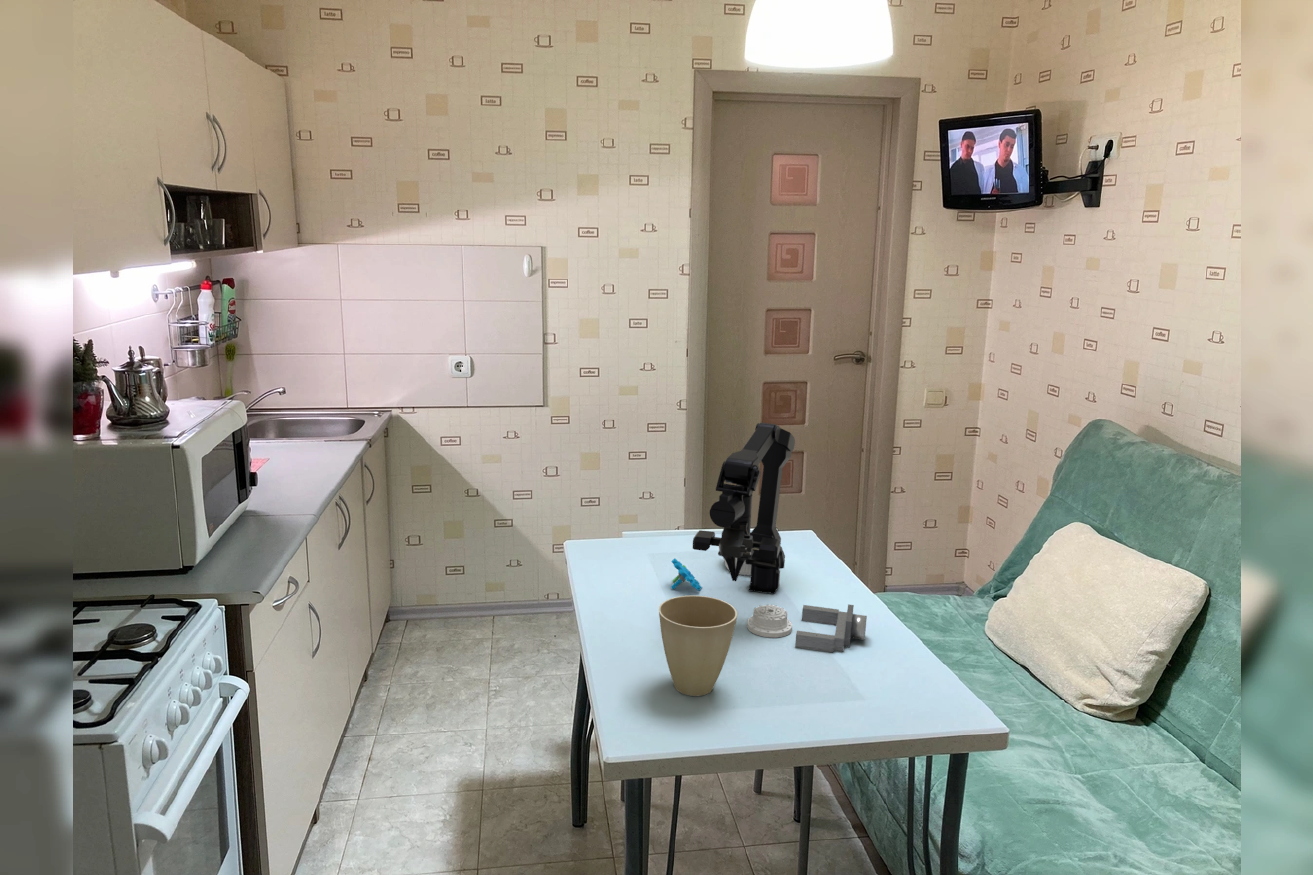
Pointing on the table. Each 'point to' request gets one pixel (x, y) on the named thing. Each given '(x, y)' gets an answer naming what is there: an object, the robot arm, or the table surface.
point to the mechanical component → (769, 622)
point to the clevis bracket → (844, 621)
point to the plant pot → (696, 640)
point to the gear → (684, 576)
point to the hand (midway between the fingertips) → (734, 580)
